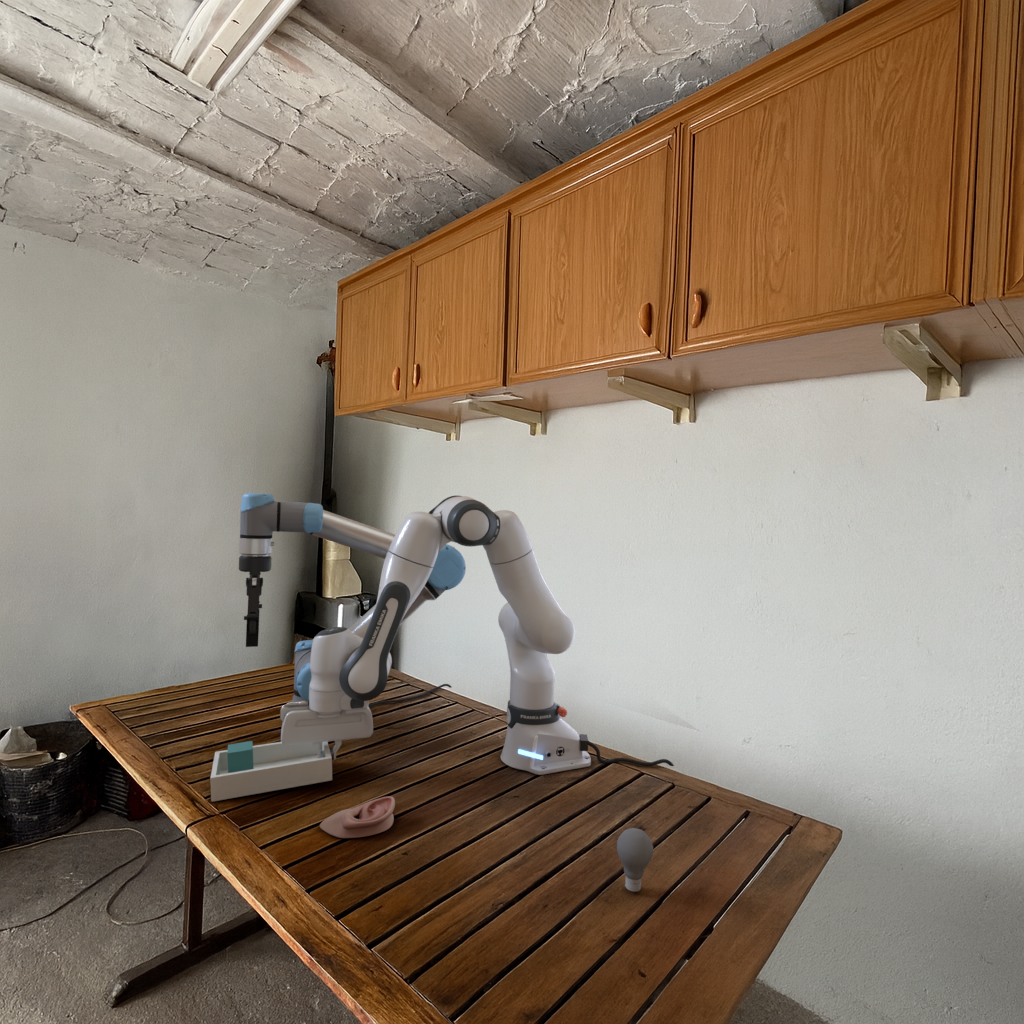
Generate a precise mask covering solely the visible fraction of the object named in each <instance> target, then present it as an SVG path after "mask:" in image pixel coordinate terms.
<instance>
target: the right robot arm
mask: <svg viewBox="0 0 1024 1024" xmlns="http://www.w3.org/2000/svg"><path fill="white" fill-rule="evenodd" d="M394 534H395V536H394V538H393V541H392V543H391V545H390V547H389V550H388V552H387V555H386V558H385V559H384V561H383V565H382V568H381V573H380V579H379V580H380V581H379V584H378V585H379V586H378V593H377V598H376V603H375V604H376V607H375V610H374V613H373V616H372V618H371V621H370V623H369V626H368V628H367V630H366V633H365V635H364V638H361V637H359V636H357V635H355V634H354V633H352V632H351V631H350V630H349V628H348V627H345V626H334V627H329V628H326V629H323V630H321V631H319V632H318V633H316V635H315V636H314V638H313V639H314V640H313V639H312V640H313V643H312V649H311V659H310V670H311V675H312V677H311V682H310V685H309V700H307V701H299V702H292V701H288V702H287V703H286V704H284V705H282V706H281V708H280V711H279V720H280V721H281V722H282V723H281V729H280V742H282V743H283V744H284V745H295V744H305V743H313V747H314V749H315V750H316V752H317V758H323V757H324V756H325V752H324V750H323V751H320V749H319V746H320V742H326V741H328V742H334V746H333V747H332V749H330V753H331V757H332V761H333V760H336V759H337V753H338V751H339V749H340V748H341V746H342V744H343V741H347V740H358V739H368V738H370V737H371V736H372V735H373V734H374V719H373V714H372V711H371V707H368V706H369V705H370V701H372V700H374V699H376V698H378V697H379V696H381V694H383V692H384V691H385V689H386V687H387V684H388V678H389V674H390V672H391V668H392V665H393V657H392V654H391V652H390V651H391V649H392V646H393V644H394V641H395V638H396V636H397V634H398V631H399V629H400V626H401V625H400V623H401V621H402V619H403V617H404V615H405V614H406V612H407V611H408V609H409V608H410V606H411V605H412V603H413V602H414V601H415V599H416V598H417V597H418V595H419V594H420V592H421V591H422V589H423V588H424V586H425V584H426V582H427V580H428V578H429V576H430V574H431V572H432V570H433V567H434V564H435V562H436V559H437V556H438V554H439V552H440V551H441V549H442V548H443V547H444V546H445V545H446V544H447V545H448V544H449V543H451V542H452V543H455V544H458V545H460V546H463V547H468V548H469V547H471V548H472V547H479V546H482V548H483V550H484V551H485V553H486V557H487V560H488V563H489V566H490V568H491V572H492V574H493V577H494V580H495V583H496V585H497V588H498V591H499V593H500V594H501V595H502V597H503V598H504V599H505V600H506V601H507V602H506V603H504V604H503V606H502V607H501V609H500V611H499V613H498V619H497V620H498V621H497V623H498V626H499V628H500V631H501V632H502V635H503V637H504V642H505V647H506V650H507V657H508V663H509V674H510V675H509V676H510V677H509V679H510V680H509V700H508V701H507V708H506V724H507V728H506V733H505V739H504V744H503V747H502V751H501V753H500V761H501V762H502V763H503V764H505V765H506V766H508V767H511V768H514V769H517V770H520V771H526V772H529V773H531V774H534V775H538V776H543V775H547V774H548V775H549V774H554V773H559V772H565V771H572V770H577V769H582V768H587V767H590V766H591V765H592V758H591V755H590V754H589V753H588V752H589V747H590V748H592V749H593V750H594V751H595V754H596V759H597V761H598V762H600V763H601V764H612V763H619V762H622V763H624V762H625V763H629V764H633V765H637V766H642V767H654V766H658V765H661V764H667V766H670V767H675V765H674V764H673V762H672V761H670V760H669V759H666V758H660V759H657V760H654V761H650V762H649V761H641V760H637V759H632V758H627V757H614V758H611V759H605V758H604V759H603V758H602V757H601V751H600V749H599V747H598V746H597V745H596V744H594V743H593V742H591V740H590V741H589V738H588V734H585V733H583V734H582V733H579V732H577V730H576V729H574V727H573V726H571V725H570V724H569V723H568V722H567V721H565V720H564V719H562V718H565V717H566V716H567V715H568V711H567V708H564V706H561V705H560V704H558V703H556V702H555V685H556V673H555V669H554V668H553V665H552V664H551V662H550V659H549V655H559V654H562V653H565V652H566V651H568V650H569V648H571V646H572V645H573V642H574V641H575V637H576V628H575V627H576V626H575V624H574V622H573V620H572V619H571V618H570V617H569V616H568V615H567V613H565V611H564V610H563V609H562V608H561V606H560V604H559V603H558V601H557V600H556V598H555V596H554V594H553V593H552V591H551V590H550V587H549V586H548V584H547V583H546V581H545V578H544V577H543V574H542V571H541V569H540V566H539V563H538V560H537V557H536V554H535V552H534V549H533V545H532V543H531V540H530V537H529V534H528V533H527V530H526V529H525V527H524V525H523V523H522V520H521V519H520V517H519V516H518V514H516V513H515V512H514V511H511V510H509V509H500V510H496V511H493V510H492V509H491V508H489V506H487V505H486V504H485V503H483V502H481V501H480V500H477V499H475V498H473V497H470V496H466V495H465V496H463V495H451V496H448V497H446V498H444V499H442V500H441V501H440V502H439V503H438V504H436V506H435V507H433V508H432V509H431V510H430V511H428V512H426V511H413V512H410V513H408V514H407V515H406V516H405V517H404V519H403V520H402V522H401V524H400V525H399V527H398V529H397V530H396V533H394ZM548 654H549V655H548ZM308 705H309V706H308Z"/></svg>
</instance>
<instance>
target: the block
mask: <svg viewBox="0 0 1024 1024" xmlns="http://www.w3.org/2000/svg"><path fill="white" fill-rule="evenodd" d="M253 743H254V742H253V740H249V741H242V742H235V743H230V744H227V750H228V752H227V757H228V773H233V772H239V771H245V770H251V769H254V768H253V746H254V744H253Z"/></svg>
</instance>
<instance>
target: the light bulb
mask: <svg viewBox="0 0 1024 1024" xmlns="http://www.w3.org/2000/svg"><path fill="white" fill-rule="evenodd" d="M616 852H617V856H618V858H619V860H620V862H621V864H622V866H623V872H624V875H625V882H624V887H625V889H627V890H628V891H630V892H633V893H634V892H635V893H636V892H639V891H641V889H642V878H643V876H644V875H645V869H646V868H647V867H648V865H649V864H650V862H651V860H652V858H653V855H654V845H653V842H652V840H651V838H650V836H649V835H648V834H647V832H645V831H644V830H642V829H640V828H636V827H629V828H627V829H625V830H624V831H623V832H622V833H620V835H619V836H618V839H617V841H616Z"/></svg>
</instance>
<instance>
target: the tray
mask: <svg viewBox="0 0 1024 1024" xmlns="http://www.w3.org/2000/svg"><path fill="white" fill-rule="evenodd" d="M319 749H320V751H323V750H324V752H325V756H324V757H323V758H317V752H316V750H315V749H314V747H313V743H305V744H295V745H284V744H283V743H282V742H281V741H277V742H269V743H264V744H257V745H253V768H254V769H251V770H245V771H239V772H233V773H228V757H227V752H228V749H224V750H218V751H215V752H214V756H213V761H212V766H211V767H212V768H211V772H210V777H209V779H210V782H209V783H210V800H211V801H210V802H212V803H213V802H218V801H223V800H228V799H229V800H230V799H234V798H241V797H246V796H251V795H258V794H263V793H269V792H274V791H280V790H285V789H291V788H297V787H303V786H309V785H313V784H318V783H319V784H321V783H324V782H330V781H333V760H332V757H331V753H330V750H331V749H330V746H329V741H326V742H320V746H319Z"/></svg>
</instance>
